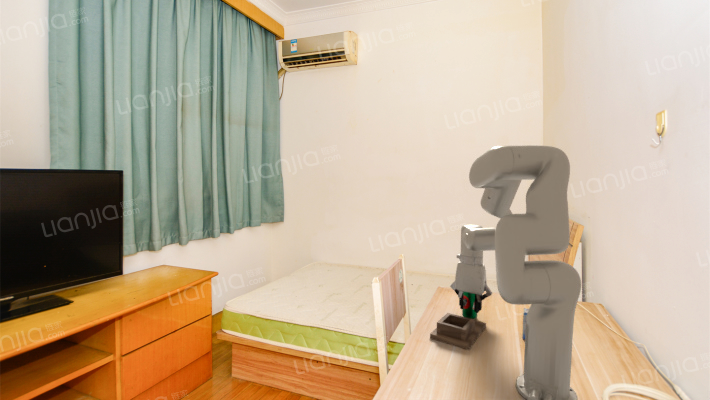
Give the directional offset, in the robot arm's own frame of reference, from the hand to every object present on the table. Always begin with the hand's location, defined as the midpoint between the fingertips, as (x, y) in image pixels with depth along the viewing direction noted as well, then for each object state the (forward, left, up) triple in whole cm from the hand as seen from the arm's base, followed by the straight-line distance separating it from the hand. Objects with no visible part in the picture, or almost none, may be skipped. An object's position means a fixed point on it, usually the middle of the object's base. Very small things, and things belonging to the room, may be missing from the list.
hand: (470, 309), depth 123 cm
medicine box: (-4, -22, -3) cm, 22 cm away
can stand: (-14, -1, -3) cm, 14 cm away
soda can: (0, 0, -3) cm, 3 cm away
